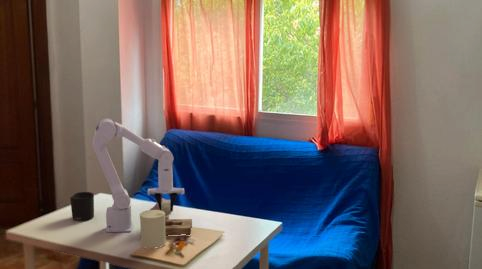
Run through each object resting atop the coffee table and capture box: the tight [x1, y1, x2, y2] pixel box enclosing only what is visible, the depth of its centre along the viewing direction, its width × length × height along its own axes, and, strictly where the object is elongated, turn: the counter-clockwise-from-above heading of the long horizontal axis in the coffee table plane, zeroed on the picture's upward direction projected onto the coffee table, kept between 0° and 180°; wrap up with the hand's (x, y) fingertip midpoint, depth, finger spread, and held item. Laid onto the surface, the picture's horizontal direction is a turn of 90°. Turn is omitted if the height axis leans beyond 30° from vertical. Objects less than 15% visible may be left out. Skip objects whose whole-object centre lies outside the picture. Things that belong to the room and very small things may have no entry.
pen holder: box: [69, 191, 95, 222], centre depth 212 cm, size 9×9×10 cm
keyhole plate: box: [165, 218, 193, 236], centre depth 197 cm, size 14×10×3 cm
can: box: [139, 209, 167, 249], centre depth 185 cm, size 9×9×12 cm
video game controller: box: [149, 197, 167, 210], centre depth 220 cm, size 10×5×7 cm, turn 168°
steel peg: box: [161, 199, 172, 219], centre depth 205 cm, size 4×4×10 cm
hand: (166, 211), depth 205 cm, fingers closed on steel peg, 4 cm apart
